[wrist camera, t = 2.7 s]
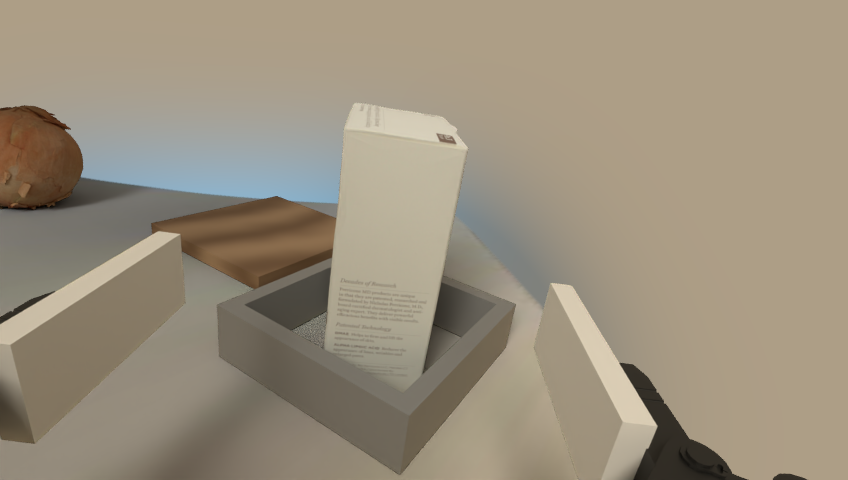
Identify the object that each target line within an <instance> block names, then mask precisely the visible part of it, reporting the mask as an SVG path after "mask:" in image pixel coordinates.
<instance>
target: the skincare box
mask: <svg viewBox="0 0 848 480" xmlns="http://www.w3.org/2000/svg"><path fill="white" fill-rule="evenodd" d="M457 131H458V130H457V129H456V128H455V127H454V126H452V125H450V124H449V123H448V122H447V121H446V120H445V118H444V117H441V116H435V115H428V114H423V113H417V112H411V111H404V110H397V109H390V108H385V107H379V106H374V105H369V104H363V103H362V104H361V103H354V104H353V107H352V109H351V111H350V113H349V115H348V118H347V121H346V124H345V127H344V137H343V152H342V153H343V154H342V163H341V174H340V187H339V200H338V210H337V218H336V226H335V234H334V244H333V255H332V265H331V275H330V285H329V296H328V307H327V317H326V328H325V339H324V348H323V349H325V350H327V351H328V352H330V353H332V354H334V355H336V356H337V357H339V358H341V359H343V360H345V361H346V362H348V363H350V364H352V365H354V366H356V367H357V368H359V369H361V370H363V371H365V372H366V373H368V374H370V375H372V376H374V377H375V378H377V379H379V380H381V381H383V382H384V383H386V384H388V385H390V386H392V387H393V388H395V389H397V390H399V391H401V392H402V393H403V392H405V391H406V390H407V389H408V388H409V387H410V386H411V385H412V384H413V383H414V382H415V381H416V380H417V379H418V378H419V377H420V376H421V375H422V374H423V370H424V365H425V360H426V355H427V350H428V345H429V340H430V336H431V331H432V326H433V321H434V316H435V311H436V306H437V301H438V296H439V291H440V286H441V281H442V276H443V271H444V266H445V261H446V256H447V251H448V246H449V241H450V236H451V231H452V227H453V222H454V217H455V212H456V207H457V203H458V198H459V193H460V188H461V183H462V177H463V172H464V167H465V162H466V157H467V153H468V147H467V146H466V145H465V144H464V143H463V141H462V140H461V139H460V138H459V136H458V135H457Z"/></svg>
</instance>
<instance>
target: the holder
mask: <svg viewBox="0 0 848 480" xmlns="http://www.w3.org/2000/svg"><path fill="white" fill-rule="evenodd" d="M331 265H332V258H330V259H327V260H325V261H322V262H320V263H318V264H315V265H313V266H310V267H308V268H305V269H303V270H300V271H298V272H296V273H293V274H291V275H288V276H286V277H283V278H281V279H279V280H276V281H274V282H271V283H269V284H266V285H264V286H262V287H259V288H257V289H254V290H252V291H249V292H247V293H244V294H242V295H240V296H237V297H235V298H232V299H230V300H227V301H225V302H223V303H220V304H218V305H217V316H218V339H219V356H220V357H221V358H223V359H224V360H226V361H227V362H229V363H230V364H232V365H233V366H235V367H236V368H238V369H239V370H241V371H243V372H244V373H246V374H247V375H249V376H250V377H252V378H253V379H255V380H256V381H258V382H259V383H261V384H262V385H264V386H265V387H267V388H268V389H270V390H271V391H273V392H274V393H276V394H278V395H279V396H281V397H282V398H284V399H285V400H287V401H288V402H290V403H291V404H293V405H294V406H296V407H297V408H299V409H300V410H302V411H303V412H305V413H306V414H308V415H309V416H311V417H313V418H314V419H316V420H317V421H319V422H320V423H322V424H323V425H325V426H326V427H328V428H329V429H331V430H332V431H334V432H335V433H337V434H338V435H340V436H341V437H343V438H344V439H346V440H348V441H349V442H351V443H352V444H354V445H355V446H357V447H358V448H360V449H361V450H363V451H364V452H366V453H367V454H369V455H370V456H372V457H373V458H375V459H376V460H378V461H380V462H381V463H383V464H384V465H386V466H387V467H389V468H390V469H392V470H393V471H395V472H396V473H398V474H399V475H400V474H401V473H402V472H403V471H404V469H405V468H406V467H407V466H408V464H409V463H410V462H411V461H412V460H413V458H414V457H415V456H416V455H417V454H418V452H419V451H420V450H421V449H422V448H423V446H424V445H425V444H426V443H427V442H428V440H429V439H430V438H431V437H432V436H433V434H434V433H435V432H436V431H437V430H438V428H439V427H440V426H441V425H442V424H443V422H444V421H445V420H446V419H447V418H448V416H449V415H450V414H451V413H452V411H453V410H454V409H455V408H456V407H457V405H458V404H459V403H460V402H461V401H462V399H463V398H464V397H465V396H466V395H467V393H468V392H469V391H470V390H471V389H472V387H473V386H474V385H475V384H476V383H477V381H478V380H479V379H480V378H481V377H482V375H483V374H484V373H485V372H486V371H487V369H488V368H489V367H490V366H491V365H492V363H493V362H494V361H495V360H496V359H497V357H498V356H499V355H500V354H501V352H502V351H503V350H504V349H505V348H506V343H507V339H508V335H509V331H510V327H511V323H512V319H513V315H514V311H515V306H516V304H514V303H512V302H509V301H507V300H504V299H501V298H499V297H496V296H494V295H491V294H489V293H486V292H484V291H481V290H479V289H476V288H473V287H471V286H468V285H466V284H463V283H461V282H458V281H456V280H453V279H450V278H448V277H445V276H442V281H441V286H440V291H439V296H438V301H437V306H436V311H435V316H434V321H433V324H434V325H436V326H439V327H441V328H443V329H445V330H447V331H450V332H452V333H454V334H456V335H458V336H461V338H460V339H459V340H458V341H457V342H456V343H455V344H454V345H453V346H452V347H451V348H450V349H449V350H448V351H447V352H446V353H445V354H444V355H442V356H441V357H440V358H439V359H438V360H437V361H436V362H435V363H434V364H433V365H432V366H431V367H430V368H429V369H428V370H427V371H426V372H425V373H424V374H422V375H421V376H420V377H419V378H418V379H417V380H416V381H415V382H414V383H413V384H412V385H411V386H410V387H409V388H408V389H407V390H406V391H405V392H403V393H402V392H401V391H399V390H397V389H395V388H393V387H392V386H390V385H388V384H386V383H384V382H383V381H381V380H379V379H377V378H375V377H374V376H372V375H370V374H368V373H366V372H365V371H363V370H361V369H359V368H357V367H356V366H354V365H352V364H350V363H348V362H346V361H345V360H343V359H341V358H339V357H337V356H336V355H334V354H332V353H330V352H328V351H327V350H325V349H323V348H321V347H319V346H318V345H316V344H314V343H312V342H310V341H309V340H307V339H305V338H303V337H301V336H300V335H298V334H296V333H294V332H292V331H291V330H293V329H294V328H296V327H298V326H300V325H302V324H304V323H305V322H307V321H309V320H311V319H313V318H315V317H316V316H318V315H320V314H322V313H324V312H326V311H327V307H328V296H329V285H330V275H331Z"/></svg>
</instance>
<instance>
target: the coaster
mask: <svg viewBox="0 0 848 480" xmlns="http://www.w3.org/2000/svg"><path fill="white" fill-rule="evenodd" d="M151 225H152V235H153V234H154V233H156V232H158V231H161V232H169V233H176V234H180V235H181V249H182V251H183V252H185V253H187V254H188V255H190V256H192V257H194V258H196V259H198V260H200V261H202V262H204V263H206V264H208V265H209V266H211V267H213V268H215V269H217V270H219V271H221V272H223V273H225V274H227V275H229V276H231V277H232V278H234V279H236V280H238V281H240V282H242V283H244V284H246V285H248V286H250V287H252V288H254V289H257V288H259V287H262V286H264V285H266V284H269V283H271V282H274V281H276V280H279V279H281V278H283V277H286V276H288V275H291V274H293V273H296V272H298V271H300V270H303V269H305V268H308V267H310V266H313V265H315V264H318V263H320V262H322V261H325V260H327V259H330V258H332V255H333V244H334V234H335V226H336V218H334V217H332V216H329V215H326V214H323V213H321V212H318V211H315V210H313V209H310V208H307V207H305V206H302V205H299V204H297V203H294V202H291V201H288V200H286V199H283V198H280V197H278V196H275V197H271V198H266V199H261V200H257V201H252V202H247V203H243V204H238V205H233V206H229V207H224V208H220V209H215V210H210V211H206V212H201V213H196V214H192V215H187V216H183V217H178V218H173V219H169V220H164V221H159V222H155V223H151Z"/></svg>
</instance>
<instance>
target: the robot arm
mask: <svg viewBox="0 0 848 480" xmlns="http://www.w3.org/2000/svg"><path fill="white" fill-rule="evenodd" d="M185 303H186V302H185V289H184V275H183V262H182V249H181V235H180V234H176V233H169V232H161V231H158V232H156V233H154V234H153V235H151V236H149V237H148V238H146V239H144V240H143V241H141V242H139V243H137V244H136V245H134V246H132V247H131V248H129V249H127V250H126V251H124V252H122V253H120V254H119V255H117V256H115V257H114V258H112V259H110V260H109V261H107V262H105V263H104V264H102V265H100V266H98V267H97V268H95V269H93V270H92V271H90V272H88V273H87V274H85V275H83V276H81V277H80V278H78V279H76V280H75V281H73V282H71V283H70V284H68V285H66V286H64V287H63V288H61V289H59V290H58V291H54V292H51V293H48V294H45V295H42V296H39V297H36V298H33V299H31V300H29V301H27V302H26V303H24V304H22V305H20V306H19V307H17V308H15V309H14V311H13V312H11V311H10V312H8V313H6V314H5V315H3V316H1V317H0V436H1V439H2V440H8V441H16V442H24V443H33V444H35V443H36V442H37V441H38V440H39V439H41V438H42V437H43V436H44V435H45V434H46V433H47V432H48V431H49V430H50V429H51V428H52V427H53V426H54V425H55V424H57V423H58V422H59V421H60V420H61V419H62V418H63V417H64V416H65V415H66V414H67V413H68V412H69V411H70V410H72V409H73V408H74V407H75V406H76V405H77V404H78V403H79V402H80V401H81V400H82V399H83V398H84V397H85V396H86V395H88V394H89V393H90V392H91V391H92V390H93V389H94V388H95V387H96V386H97V385H98V384H99V383H100V382H101V381H103V380H104V379H105V378H106V377H107V376H108V375H109V374H110V373H111V372H112V371H113V370H114V369H115V368H116V367H117V366H119V365H120V364H121V363H122V362H123V361H124V360H125V359H126V358H127V357H128V356H129V355H130V354H131V353H132V352H133V351H135V350H136V349H137V348H138V347H139V346H140V345H141V344H142V343H143V342H144V341H145V340H146V339H147V338H148V337H150V336H151V335H152V334H153V333H154V332H155V331H156V330H157V329H158V328H159V327H160V326H161V325H162V324H163V323H164V322H166V321H167V320H168V319H169V318H170V317H171V316H172V315H173V314H174V313H175V312H176V311H177V310H178V309H179V308H181V307H182V306H183V305H184V304H185ZM534 350H535V353H536V356H537V359H538V362H539V365H540V368H541V371H542V374H543V377H544V380H545V383H546V386H547V389H548V392H549V395H550V397H551V400H552V403H553V406H554V409H555V412H556V415H557V418H558V421H559V424H560V427H561V430H562V433H563V436H564V439H565V442H566V445H567V448H568V451H569V454H570V457H571V459H572V462H573V465H574V468H575V471H576V474H577V477H578V480H747V479H744V478H741V477H739V476H736V475H734V474H732V472H731V470H730V469H729V467H728V465H727V463H726V462H725V461H724V460H723V459H722V458H721V457H720V456H719V455H718V454H716V453H715V452H714V451H712V450H711V449H709V448H708V447H706V446H705V445H703V444H701V443H698V442H696V441H694V440H690V439H689V438H688V436H687V435H686V433H685V432H684V430H683V429H682V427H681V426H680V424H679V423H678V421H677V420H676V418H675V417H674V415H673V414H672V412H671V411H670V409H669V408H668V406H667V405H666V404H664V401H663V400H662V398H661V396H660V395H659V393H657V392H656V389H655V387H654V386H653V384H652V383H651V381H650V380H649V378H648V377H647V376H646V375H645V374H644V373H642V372H641V371H640V370H639V369H638V368H636V367H635V366H634V365H632V364H625V363H619V362H618V361H617V359H616V357H615V356H614V354H613V352H612V351H611V349H610V347H609V346H608V344H607V343H606V341H605V339H604V338H603V336H602V334H601V333H600V331H599V329H598V328H597V326H596V325H595V323H594V321H593V320H592V318H591V316H590V315H589V313H588V311H587V310H586V308H585V306H584V305H583V303H582V301H581V300H580V299H579V297H578V295H577V293H576V292H575V290H574V288H573V287H572V286H570V285H563V284H554V283H551V284H550V288H549V291H548V295H547V299H546V303H545V306H544V310H543V314H542V318H541V322H540V325H539V329H538V333H537V337H536V341H535V344H534ZM773 480H807V479H805V478H802V477H799V476H795V475H792V474H778V475H777V476H775V477H774V478H773Z"/></svg>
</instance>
